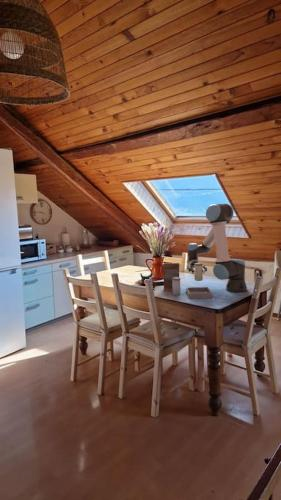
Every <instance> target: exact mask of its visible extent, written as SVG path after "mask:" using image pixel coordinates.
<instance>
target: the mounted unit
mask: <svg viewBox="0 0 281 500" xmlns="http://www.w3.org/2000/svg"><path fill="white" fill-rule="evenodd" d="M162 266H163V267H162V269H163V272H162V273H163V291H164V292H168V291H169V292H170V291H171V292H172V278H174V277H179V278H180V263H179V262H169V263H168V262H166V263H165V262H164V263H163V265H162Z"/></svg>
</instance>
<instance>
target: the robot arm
mask: <svg viewBox="0 0 281 500" xmlns="http://www.w3.org/2000/svg"><path fill="white" fill-rule="evenodd" d="M205 217H206V219H207V220H208V221H209V224H210V225H211V226H212V227H211V229H210V230H209V232H208V233H207V235H206V236H205V238H204V240H203V241H202V242H201V244H198V243H196V242H195V243H194V242H192V243H191V242H190V243H189V244H188V246H187V252H188V253H187V254H188V255H187V265H186V270H188V272H191V273H192V274H194V275H195V274H196V270H195V265H194V263H200V262H199V255H206V254H209V253H211V252H212V246H213V245H214V246H215V253H216V254H215V255H216V260H215V262H214V263H215V265H214V266H213V267H212V272H213V275H214V277H215V278H216V279H218V280H220V281H221V280H224V281H225V280H227V283H226V285H225V286H226V287H225V288H226V289H225V290H226V291H228V292H233V293H244V292H247V291H248V285H247V282H246V279H245V278H246V276H245V275H246V274H245V273H246V272H245V271H246V262H245V260H244V259H238V258H230V253H229V246H228V239H227V229H226V226H227V225H229V223H230V222H231V221H232V219H233V217H234V208H233V206H231V205H230V204H228V203H215V204H214V203H213V204H210V205H209V206H207V209H206V211H205ZM207 271H208V268H207V266H206V265H204V264H203V274H205V273H206V272H207Z"/></svg>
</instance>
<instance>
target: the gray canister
mask: <svg viewBox="0 0 281 500" xmlns="http://www.w3.org/2000/svg"><path fill="white" fill-rule="evenodd" d="M171 292H172V293H171V294H172V296H180V295H181V277H180V276H179V277H174V278H172V291H171Z"/></svg>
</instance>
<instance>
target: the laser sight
mask: <svg viewBox="0 0 281 500" xmlns="http://www.w3.org/2000/svg"><path fill="white" fill-rule="evenodd" d="M139 274H140V278H141V279H140V281H141V284H143V285H144V280H145V279H150V278H153V275H154V273H153V272H152V271H151V272H150V274H149V275H143V274H142V273H141V272H140V273H139ZM150 280H152V279H150ZM152 283H153V288H154V289H155V288H156V283H155V281H154V280H152Z"/></svg>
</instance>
